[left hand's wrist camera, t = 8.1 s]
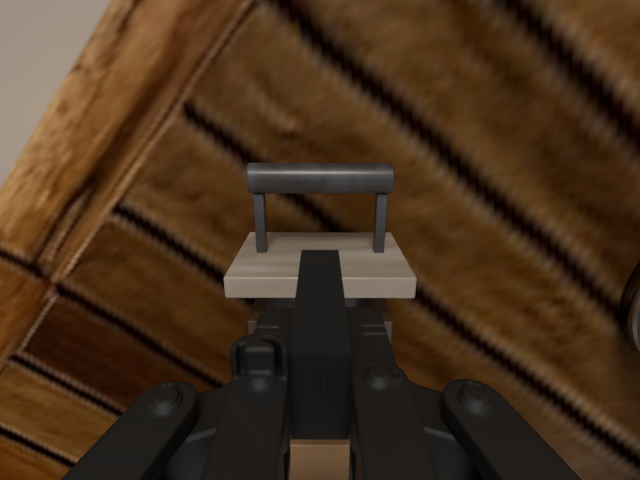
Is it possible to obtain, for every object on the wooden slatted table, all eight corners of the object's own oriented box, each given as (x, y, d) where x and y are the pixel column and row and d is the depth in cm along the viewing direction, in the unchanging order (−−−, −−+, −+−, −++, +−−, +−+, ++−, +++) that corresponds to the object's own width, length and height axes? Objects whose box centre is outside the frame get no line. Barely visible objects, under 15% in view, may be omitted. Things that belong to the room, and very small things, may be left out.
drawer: (244, 155, 24) (213, 173, 17) (396, 155, 24) (427, 174, 17) (263, 433, 32) (246, 525, 25) (376, 434, 32) (392, 525, 25)
